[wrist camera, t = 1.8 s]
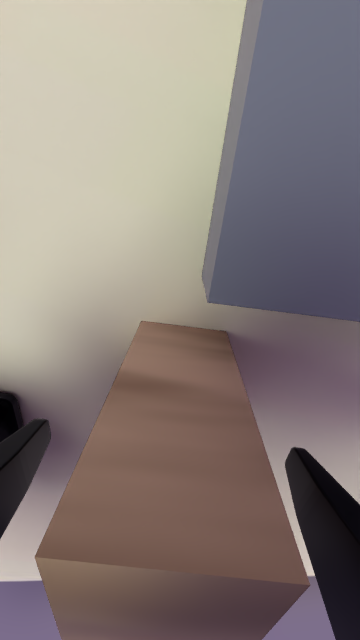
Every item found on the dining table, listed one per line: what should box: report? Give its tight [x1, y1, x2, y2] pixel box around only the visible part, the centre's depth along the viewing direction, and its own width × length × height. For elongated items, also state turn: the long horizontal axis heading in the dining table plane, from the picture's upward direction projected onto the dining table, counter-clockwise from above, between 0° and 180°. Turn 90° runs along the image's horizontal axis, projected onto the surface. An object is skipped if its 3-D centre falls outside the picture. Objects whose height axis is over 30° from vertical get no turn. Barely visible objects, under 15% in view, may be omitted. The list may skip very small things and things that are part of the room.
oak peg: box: [35, 321, 310, 640], centre depth 9 cm, size 4×4×9 cm
